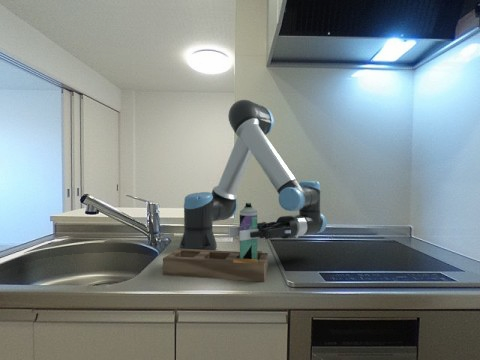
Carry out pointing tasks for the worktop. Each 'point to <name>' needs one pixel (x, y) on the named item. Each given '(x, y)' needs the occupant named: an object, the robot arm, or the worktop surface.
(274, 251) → the worktop surface
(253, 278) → the rack
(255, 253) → the spray can
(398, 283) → the worktop surface
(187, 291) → the worktop surface
